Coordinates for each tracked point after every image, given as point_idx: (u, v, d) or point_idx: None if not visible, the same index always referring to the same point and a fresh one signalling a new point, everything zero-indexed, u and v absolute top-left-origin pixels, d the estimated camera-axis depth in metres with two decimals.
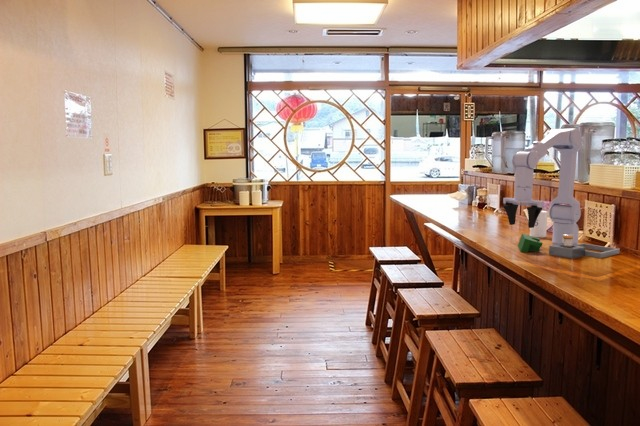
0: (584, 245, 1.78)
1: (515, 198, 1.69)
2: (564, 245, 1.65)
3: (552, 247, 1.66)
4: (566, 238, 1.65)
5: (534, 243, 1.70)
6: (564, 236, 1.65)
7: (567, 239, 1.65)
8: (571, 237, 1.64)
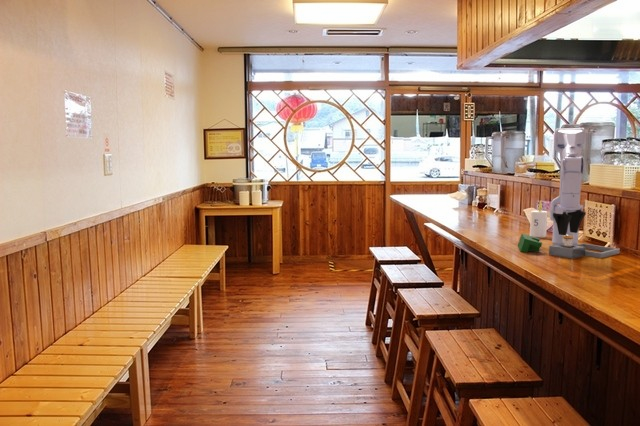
0: (584, 245, 1.78)
1: None
2: (564, 245, 1.65)
3: (552, 247, 1.66)
4: (566, 238, 1.65)
5: (534, 243, 1.70)
6: (564, 236, 1.65)
7: (567, 239, 1.65)
8: (571, 237, 1.64)
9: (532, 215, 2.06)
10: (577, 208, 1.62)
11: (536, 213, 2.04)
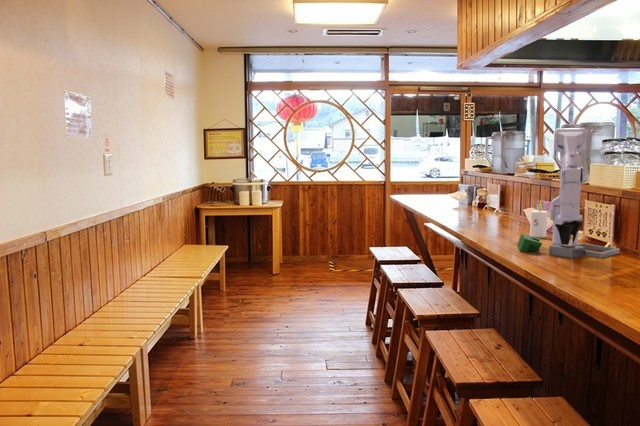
0: (584, 245, 1.78)
1: None
2: (564, 245, 1.65)
3: (552, 247, 1.66)
4: None
5: (534, 243, 1.70)
6: None
7: None
8: (571, 237, 1.64)
9: (532, 215, 2.06)
10: (576, 218, 1.62)
11: (536, 213, 2.04)
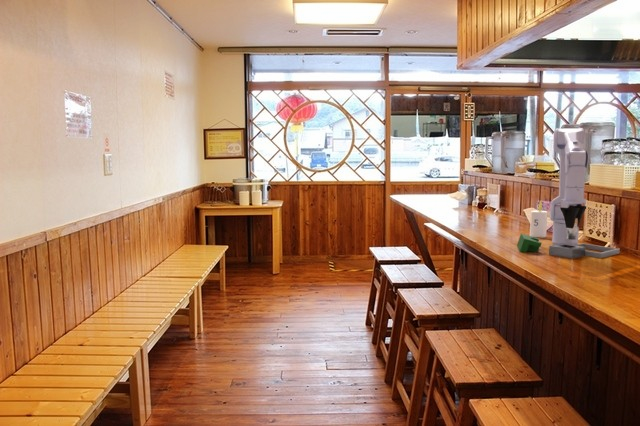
0: (584, 245, 1.78)
1: None
2: (569, 229, 1.65)
3: (552, 247, 1.66)
4: None
5: (533, 243, 1.70)
6: None
7: None
8: (576, 221, 1.64)
9: (532, 215, 2.06)
10: (581, 202, 1.62)
11: (536, 213, 2.04)
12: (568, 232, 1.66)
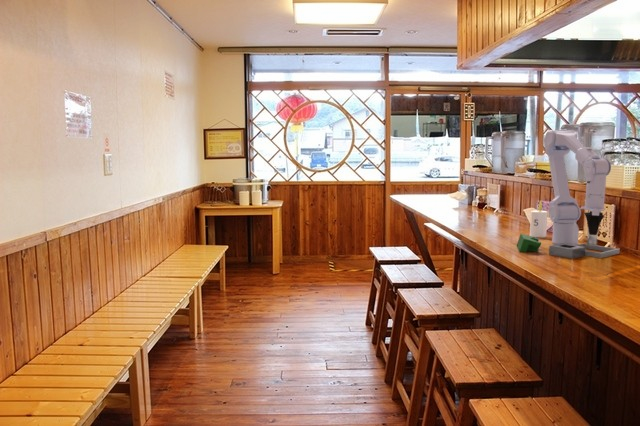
0: (584, 245, 1.78)
1: None
2: (592, 235, 1.69)
3: (552, 247, 1.66)
4: None
5: (533, 243, 1.70)
6: None
7: None
8: None
9: (532, 215, 2.06)
10: (604, 209, 1.67)
11: (536, 213, 2.04)
12: (591, 239, 1.69)
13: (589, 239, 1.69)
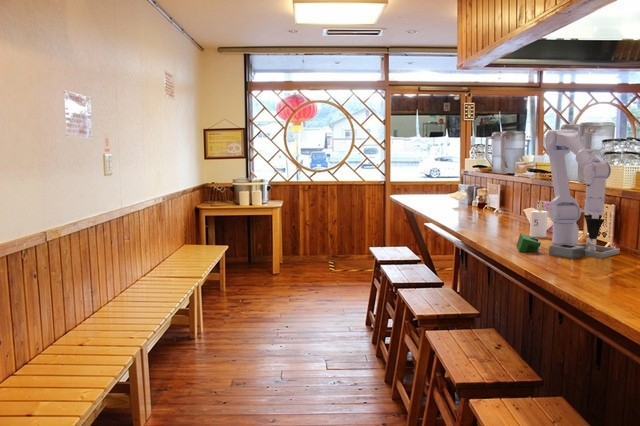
0: (584, 245, 1.78)
1: None
2: (590, 244, 1.69)
3: (552, 247, 1.66)
4: None
5: (532, 243, 1.70)
6: None
7: None
8: None
9: (532, 215, 2.06)
10: None
11: (536, 213, 2.04)
12: (590, 247, 1.69)
13: (588, 247, 1.70)
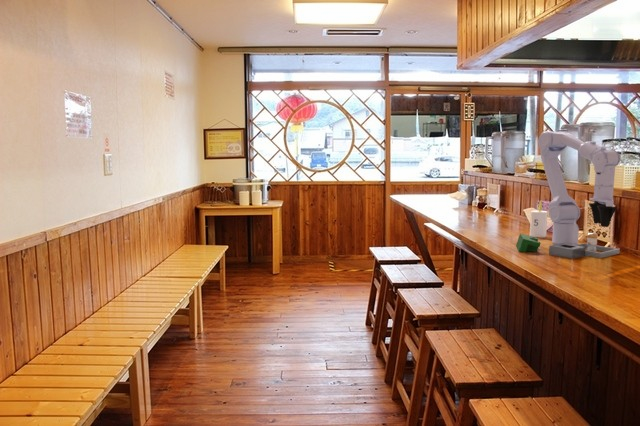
0: (584, 245, 1.78)
1: None
2: (591, 244, 1.69)
3: (552, 247, 1.66)
4: (593, 237, 1.69)
5: (532, 243, 1.70)
6: (591, 235, 1.69)
7: (594, 238, 1.69)
8: (597, 235, 1.69)
9: (532, 215, 2.06)
10: None
11: (536, 213, 2.04)
12: (590, 247, 1.69)
13: (588, 247, 1.70)
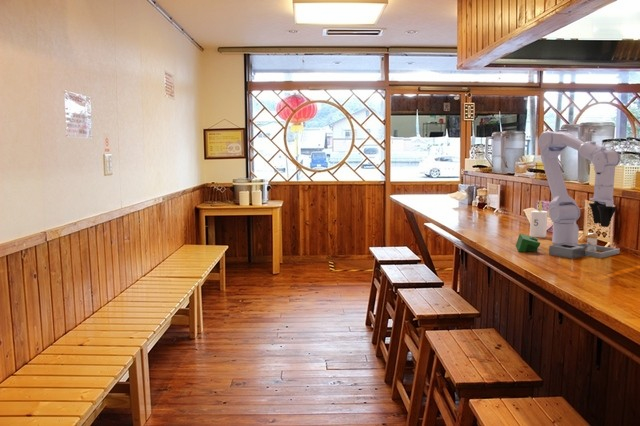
0: (584, 245, 1.78)
1: None
2: (591, 244, 1.69)
3: (552, 247, 1.66)
4: (593, 237, 1.69)
5: (532, 243, 1.70)
6: (591, 235, 1.69)
7: (594, 238, 1.69)
8: (597, 236, 1.69)
9: (532, 215, 2.06)
10: None
11: (536, 213, 2.04)
12: (590, 247, 1.69)
13: (588, 247, 1.70)
